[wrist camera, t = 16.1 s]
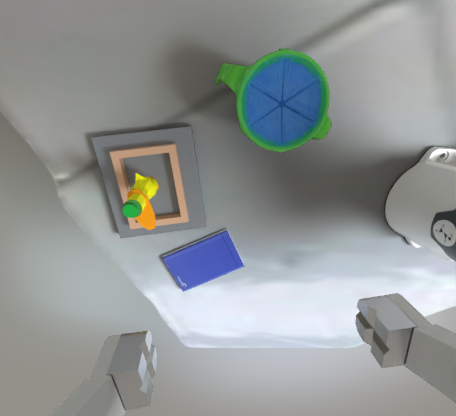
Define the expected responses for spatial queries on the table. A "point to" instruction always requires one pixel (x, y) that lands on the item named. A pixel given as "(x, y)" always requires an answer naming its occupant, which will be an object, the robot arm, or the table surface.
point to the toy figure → (141, 201)
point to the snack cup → (280, 99)
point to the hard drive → (203, 260)
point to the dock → (153, 167)
